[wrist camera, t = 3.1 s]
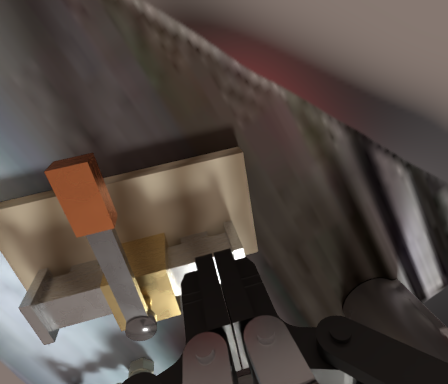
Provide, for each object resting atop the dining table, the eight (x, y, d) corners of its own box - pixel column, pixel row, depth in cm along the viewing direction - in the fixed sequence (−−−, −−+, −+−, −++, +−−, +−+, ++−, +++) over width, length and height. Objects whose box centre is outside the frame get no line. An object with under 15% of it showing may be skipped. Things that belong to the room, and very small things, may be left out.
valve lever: (159, 322, 28) (160, 338, 26) (131, 330, 28) (130, 347, 26) (92, 152, 20) (87, 161, 19) (53, 161, 20) (44, 171, 18)
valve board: (238, 146, 33) (242, 152, 31) (253, 242, 39) (258, 251, 37) (-13, 205, 30) (-23, 214, 28) (45, 297, 36) (39, 310, 34)
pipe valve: (230, 215, 34) (249, 260, 27) (238, 257, 37) (257, 307, 30) (38, 264, 32) (4, 327, 25) (61, 304, 35) (37, 370, 28)
